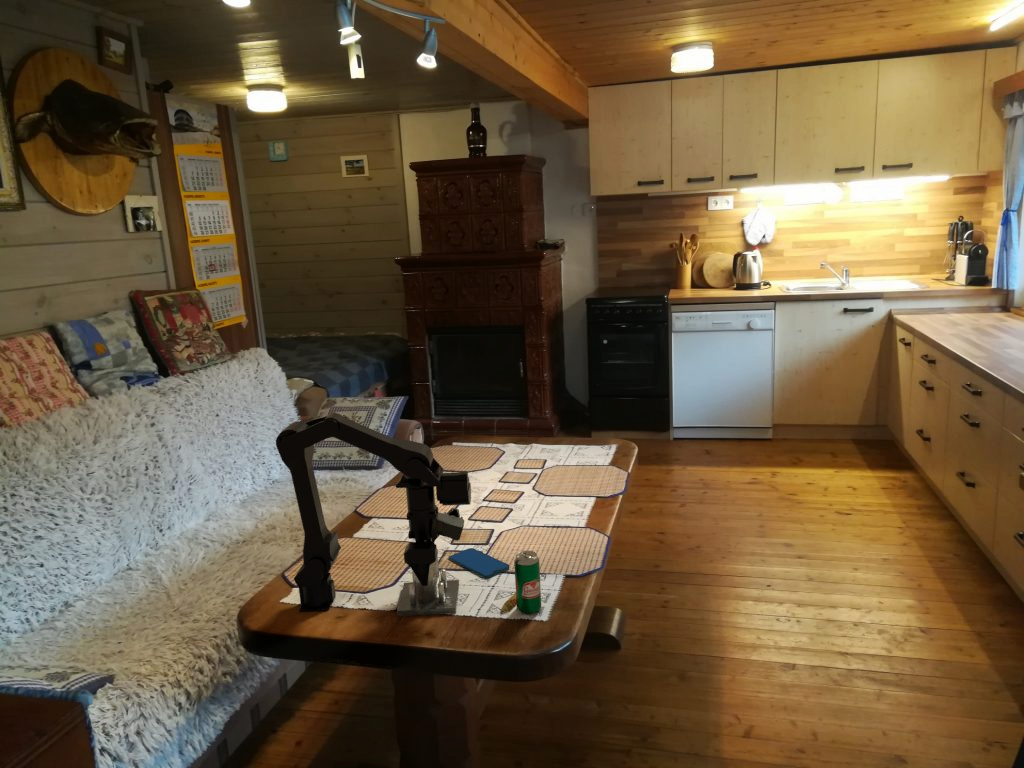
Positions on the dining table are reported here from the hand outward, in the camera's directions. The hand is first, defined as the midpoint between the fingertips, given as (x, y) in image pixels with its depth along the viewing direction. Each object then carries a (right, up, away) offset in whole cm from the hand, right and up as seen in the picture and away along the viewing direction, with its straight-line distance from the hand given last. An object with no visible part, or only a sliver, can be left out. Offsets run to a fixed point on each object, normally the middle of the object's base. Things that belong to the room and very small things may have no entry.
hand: (427, 575), depth 160 cm
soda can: (+21, -6, -4) cm, 23 cm away
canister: (0, -4, +1) cm, 5 cm away
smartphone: (+10, -2, +17) cm, 20 cm away
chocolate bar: (+19, -6, +1) cm, 20 cm away
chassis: (0, -6, +1) cm, 6 cm away
